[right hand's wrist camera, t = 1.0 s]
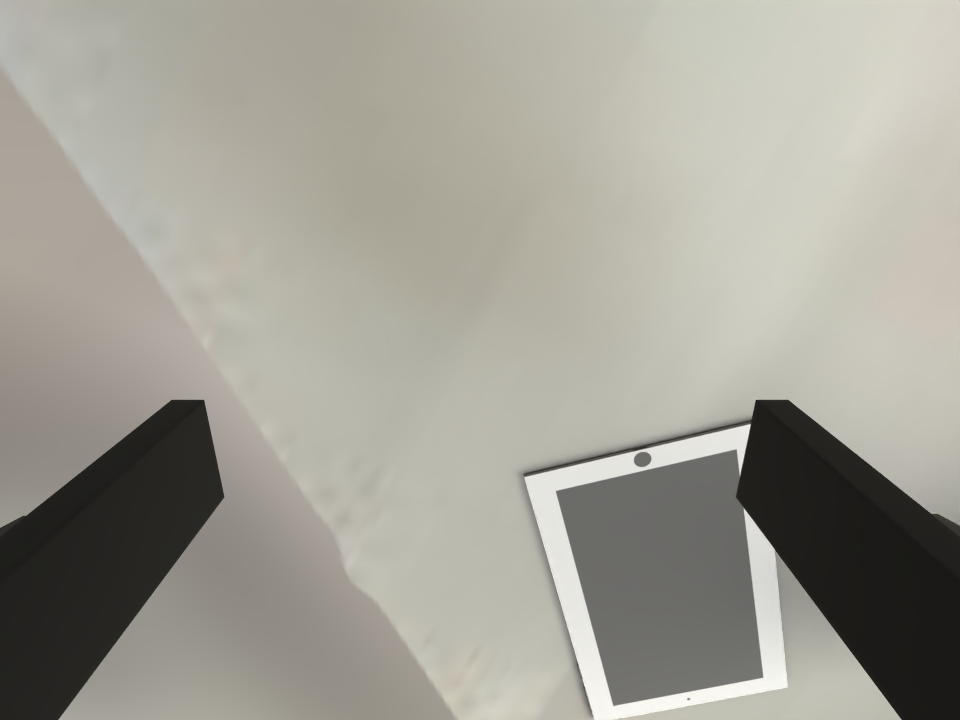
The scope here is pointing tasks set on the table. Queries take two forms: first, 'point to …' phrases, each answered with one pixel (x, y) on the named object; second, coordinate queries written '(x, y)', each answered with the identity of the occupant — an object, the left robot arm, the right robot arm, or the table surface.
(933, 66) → the table surface
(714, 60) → the table surface
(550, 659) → the table surface
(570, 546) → the tablet
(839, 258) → the table surface
